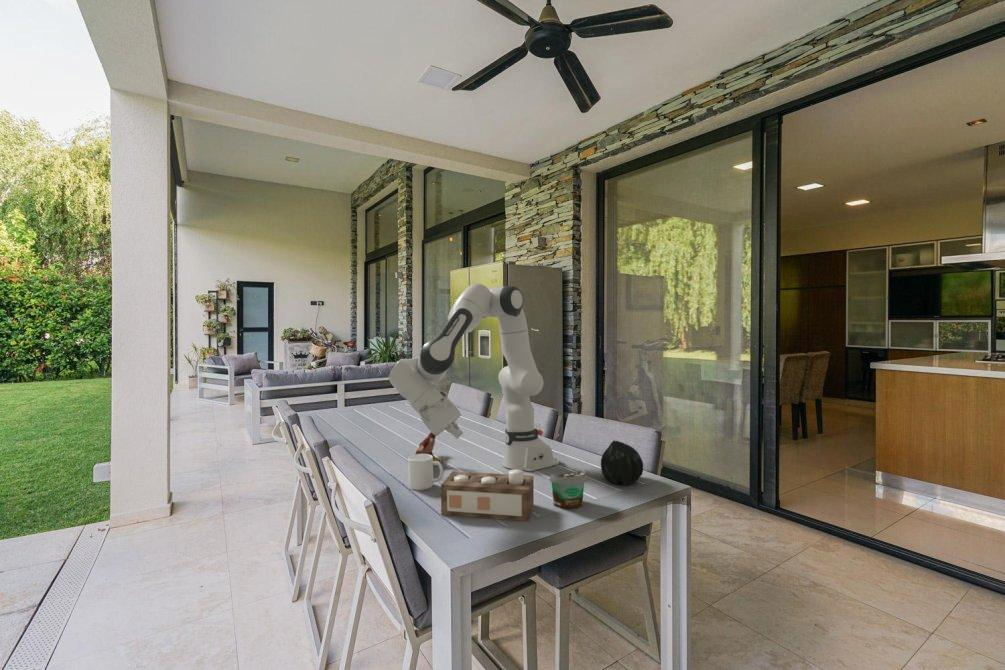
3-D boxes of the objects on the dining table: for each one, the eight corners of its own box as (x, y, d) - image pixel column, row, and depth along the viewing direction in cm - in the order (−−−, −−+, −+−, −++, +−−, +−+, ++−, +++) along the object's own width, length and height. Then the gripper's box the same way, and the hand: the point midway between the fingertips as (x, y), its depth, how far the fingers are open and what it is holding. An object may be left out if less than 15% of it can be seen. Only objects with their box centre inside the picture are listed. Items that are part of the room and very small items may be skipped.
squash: (658, 468, 159) (634, 431, 166) (631, 479, 150) (606, 439, 157) (633, 486, 168) (611, 450, 176) (606, 497, 159) (584, 459, 166)
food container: (559, 513, 136) (559, 480, 135) (549, 506, 141) (549, 474, 141) (594, 506, 141) (594, 474, 140) (583, 499, 146) (583, 468, 146)
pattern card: (446, 511, 135) (446, 491, 134) (447, 510, 135) (447, 490, 135) (521, 516, 131) (521, 495, 130) (521, 515, 131) (521, 494, 131)
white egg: (452, 495, 139) (452, 479, 139) (456, 490, 143) (456, 474, 143) (466, 496, 138) (466, 480, 138) (470, 491, 142) (469, 475, 142)
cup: (413, 481, 164) (412, 453, 163) (446, 482, 162) (445, 454, 162) (405, 490, 156) (405, 460, 155) (440, 491, 154) (439, 461, 154)
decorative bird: (453, 465, 170) (437, 428, 170) (408, 484, 171) (392, 447, 170) (462, 444, 198) (448, 412, 198) (423, 460, 199) (409, 429, 198)
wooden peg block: (441, 514, 136) (440, 484, 135) (452, 498, 148) (452, 471, 147) (528, 521, 131) (528, 490, 131) (533, 504, 143) (533, 475, 143)
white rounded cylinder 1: (479, 497, 137) (479, 481, 137) (483, 492, 142) (482, 476, 142) (494, 498, 137) (494, 481, 136) (497, 493, 141) (496, 476, 141)
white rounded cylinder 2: (507, 490, 136) (507, 473, 136) (510, 485, 140) (510, 469, 140) (522, 491, 135) (522, 474, 135) (524, 486, 139) (524, 469, 139)
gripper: (424, 402, 131) (458, 437, 129) (445, 391, 151) (475, 421, 149) (409, 417, 131) (443, 452, 130) (432, 404, 152) (462, 434, 150)
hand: (460, 436), depth 140 cm, fingers closed
